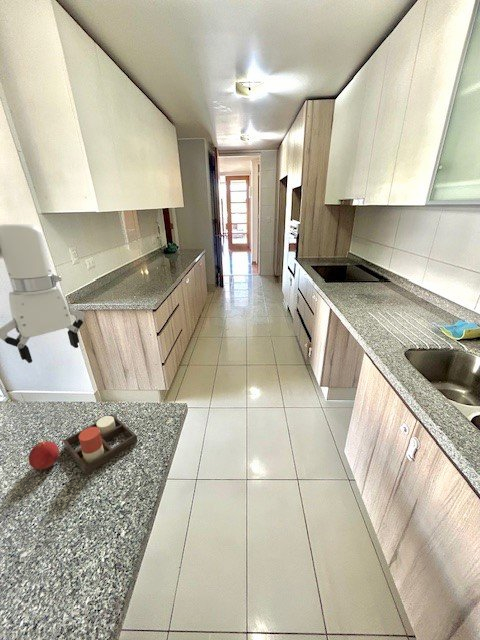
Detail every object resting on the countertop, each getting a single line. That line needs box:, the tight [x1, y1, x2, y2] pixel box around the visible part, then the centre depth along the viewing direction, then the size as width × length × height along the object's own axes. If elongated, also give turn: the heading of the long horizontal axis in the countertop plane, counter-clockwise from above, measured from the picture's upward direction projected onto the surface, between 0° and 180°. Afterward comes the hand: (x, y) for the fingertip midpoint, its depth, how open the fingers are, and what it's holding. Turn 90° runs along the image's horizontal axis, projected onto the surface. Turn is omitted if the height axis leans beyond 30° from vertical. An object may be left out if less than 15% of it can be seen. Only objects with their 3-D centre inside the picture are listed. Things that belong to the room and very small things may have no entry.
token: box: [95, 415, 117, 436], centre depth 72 cm, size 4×4×4 cm
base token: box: [82, 445, 105, 465], centre depth 64 cm, size 4×4×4 cm
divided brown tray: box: [62, 413, 138, 477], centre depth 69 cm, size 13×13×3 cm
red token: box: [78, 427, 102, 454], centre depth 63 cm, size 4×4×4 cm
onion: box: [28, 440, 60, 470], centre depth 62 cm, size 6×6×8 cm
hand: (53, 353), depth 63 cm, fingers open, 9 cm apart
